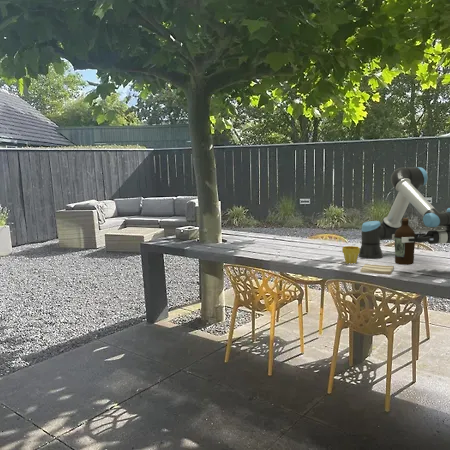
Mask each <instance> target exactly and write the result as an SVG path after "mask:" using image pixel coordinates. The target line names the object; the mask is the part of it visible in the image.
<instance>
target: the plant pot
mask: <svg viewBox="0 0 450 450" xmlns="http://www.w3.org/2000/svg"><path fill="white" fill-rule="evenodd" d="M360 248H361V247H359V246H354V245H347V246H346V245H345V246H343V247H342V249H341V250H342V253H343V256H344V261H345V264H348V263H355V264H357V262H358V258H359V253H360Z"/></svg>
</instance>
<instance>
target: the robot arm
mask: <svg viewBox="0 0 450 450" xmlns="http://www.w3.org/2000/svg"><path fill="white" fill-rule="evenodd" d="M428 179H429V177H428V173H427V170H426V169H425V168H423V167H419V166H413V167H399V168H396V169H395V170H394V171H393V172H392V174H391V176H390V182H391V185H392V186H393V188H394V189H395V190H396V192H397V195H396V197H395V200H394V201H393V204H392V205H391V208H390V210H389V212H388V214H387V216H385V217H384V218H383V220H382V221H379V220H372V221H370V220H369V221H365V222H363V223H362V225H361V229H360V230H361V245H360V247H359V248H360V253H359V254H358V258H363V259H368V260H369V259H374V260H376V259H382V258H383V251H382V247H381V241H388V240H389V241H392V240H395V239H394V235H395V232H396V230H397V229H398V228H399V227H400V226H401V225H402V218H404V217H403V216H404V215H405V212H406V211H407V208H408V206H409V204H411V205H412V207H414V208H415V210H416V211H417V212H418V213H419V214H420V215H421V216H422V217H423V218H422V222H423V225H424V226H425V227H428V228H437V227H439V228H440V227H445V229H437V230H435V229H433V230H431V229H429V230H428V231H427V233H423V232H422V233H421V232H420V233H415V238H414V237H402V243H405V242H414V241H415V243H418V244H420V243H428V244H430V245H438V244H440V245H444V244H450V207H448V208H447V209H446V211H443V212H439V211H438V210H437V209H436V208H435V207H434V205H432V204H431V203H430V202H429V201H428V199H427V198H426V197H425V196H424V195H423V194H422V193H421V192H420V191H419V190H420V188H421V187H423V186H424V187H425V185H427V183H428Z"/></svg>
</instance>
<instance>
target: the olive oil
mask: <svg viewBox="0 0 450 450" xmlns="http://www.w3.org/2000/svg"><path fill="white" fill-rule="evenodd" d="M409 223H410V222H409V218H408V217H402V219H401V226H400V227H399V228H398V229H397V230H396V232H395V235H394V239H393V240H394V262H395V264H396V265H400V266H401V265H402V266H408V265H413V264H414V263H415V262H414V260H415V259H414V257H415V249H416V248H415V245H416V242H415V241H414V242H405V243H402V237H414V238H415V234H416V232H415V230H414V229H413V228H412V227H411V226H410V225H409Z"/></svg>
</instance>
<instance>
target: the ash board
mask: <svg viewBox="0 0 450 450" xmlns="http://www.w3.org/2000/svg"><path fill="white" fill-rule="evenodd" d="M394 267H395V266H394V265H383V264H370V263H365V264H364V265H363V266H362V267H361V268H360V273H367V274H379V275H388V276H389V275H391V274H392V273H393V271H394Z"/></svg>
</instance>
